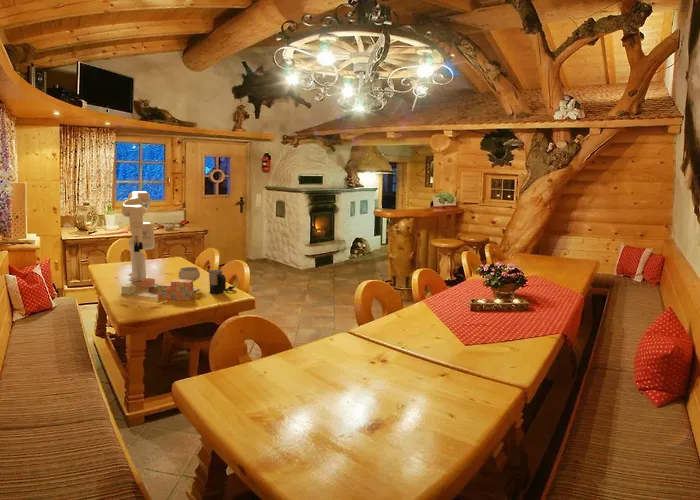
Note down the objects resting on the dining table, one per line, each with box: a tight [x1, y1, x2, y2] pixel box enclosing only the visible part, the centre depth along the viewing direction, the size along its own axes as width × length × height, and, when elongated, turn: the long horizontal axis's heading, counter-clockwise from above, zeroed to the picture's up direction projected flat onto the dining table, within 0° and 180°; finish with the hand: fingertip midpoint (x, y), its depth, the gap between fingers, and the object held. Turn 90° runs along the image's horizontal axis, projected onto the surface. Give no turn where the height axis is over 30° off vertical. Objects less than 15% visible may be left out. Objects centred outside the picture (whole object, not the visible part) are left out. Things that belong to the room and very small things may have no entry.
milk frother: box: [208, 269, 236, 295], centre depth 335 cm, size 14×16×15 cm
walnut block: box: [147, 283, 158, 293], centre depth 331 cm, size 6×6×4 cm
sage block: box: [120, 283, 137, 295], centre depth 326 cm, size 6×6×6 cm
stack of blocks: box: [157, 278, 195, 302], centre depth 317 cm, size 21×6×12 cm, turn 85°
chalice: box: [177, 266, 201, 293], centre depth 337 cm, size 14×14×15 cm
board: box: [130, 288, 158, 298], centre depth 327 cm, size 18×17×1 cm
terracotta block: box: [140, 277, 156, 289], centre depth 342 cm, size 6×6×6 cm
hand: (138, 250), depth 328 cm, fingers open, 9 cm apart
